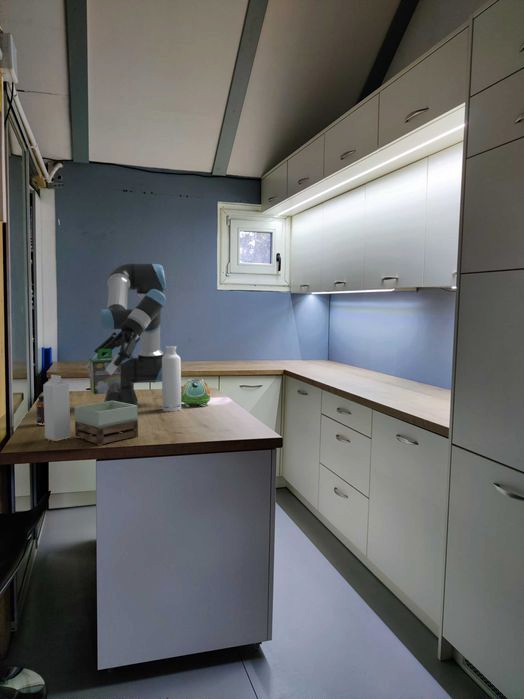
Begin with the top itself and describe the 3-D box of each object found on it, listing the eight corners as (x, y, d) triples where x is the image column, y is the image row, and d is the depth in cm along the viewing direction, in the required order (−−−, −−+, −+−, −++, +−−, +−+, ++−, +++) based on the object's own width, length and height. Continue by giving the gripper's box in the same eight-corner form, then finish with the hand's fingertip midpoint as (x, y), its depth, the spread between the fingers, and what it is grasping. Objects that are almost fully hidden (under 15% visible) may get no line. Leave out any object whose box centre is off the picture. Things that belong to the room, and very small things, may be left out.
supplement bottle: (57, 423, 196) (56, 394, 195) (46, 426, 191) (45, 397, 190) (44, 422, 198) (43, 393, 197) (33, 425, 193) (32, 396, 192)
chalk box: (116, 389, 179) (115, 347, 177) (121, 392, 170) (120, 349, 169) (89, 390, 174) (88, 348, 173) (93, 394, 166) (92, 350, 165)
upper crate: (74, 420, 173) (74, 406, 172) (113, 414, 184) (112, 400, 184) (99, 427, 163) (98, 412, 163) (137, 419, 174) (137, 405, 174)
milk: (60, 436, 176) (59, 373, 175) (70, 438, 173) (69, 374, 171) (44, 439, 171) (42, 375, 170) (54, 442, 168) (52, 376, 166)
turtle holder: (172, 403, 239) (171, 378, 238) (210, 402, 240) (210, 377, 239) (169, 408, 226) (169, 382, 225) (210, 407, 228) (210, 381, 227)
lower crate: (75, 438, 173) (74, 420, 173) (113, 430, 185) (113, 414, 184) (99, 445, 164) (99, 427, 163) (138, 436, 175) (137, 419, 174)
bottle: (162, 408, 226) (161, 346, 224) (180, 407, 227) (179, 345, 225) (162, 411, 218) (161, 347, 216) (181, 411, 219) (180, 347, 217)
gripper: (162, 332, 175) (125, 381, 164) (122, 330, 190) (86, 375, 180) (149, 317, 170) (110, 366, 160) (110, 317, 186) (72, 361, 175)
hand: (98, 371), depth 170 cm, fingers closed on chalk box, 11 cm apart
